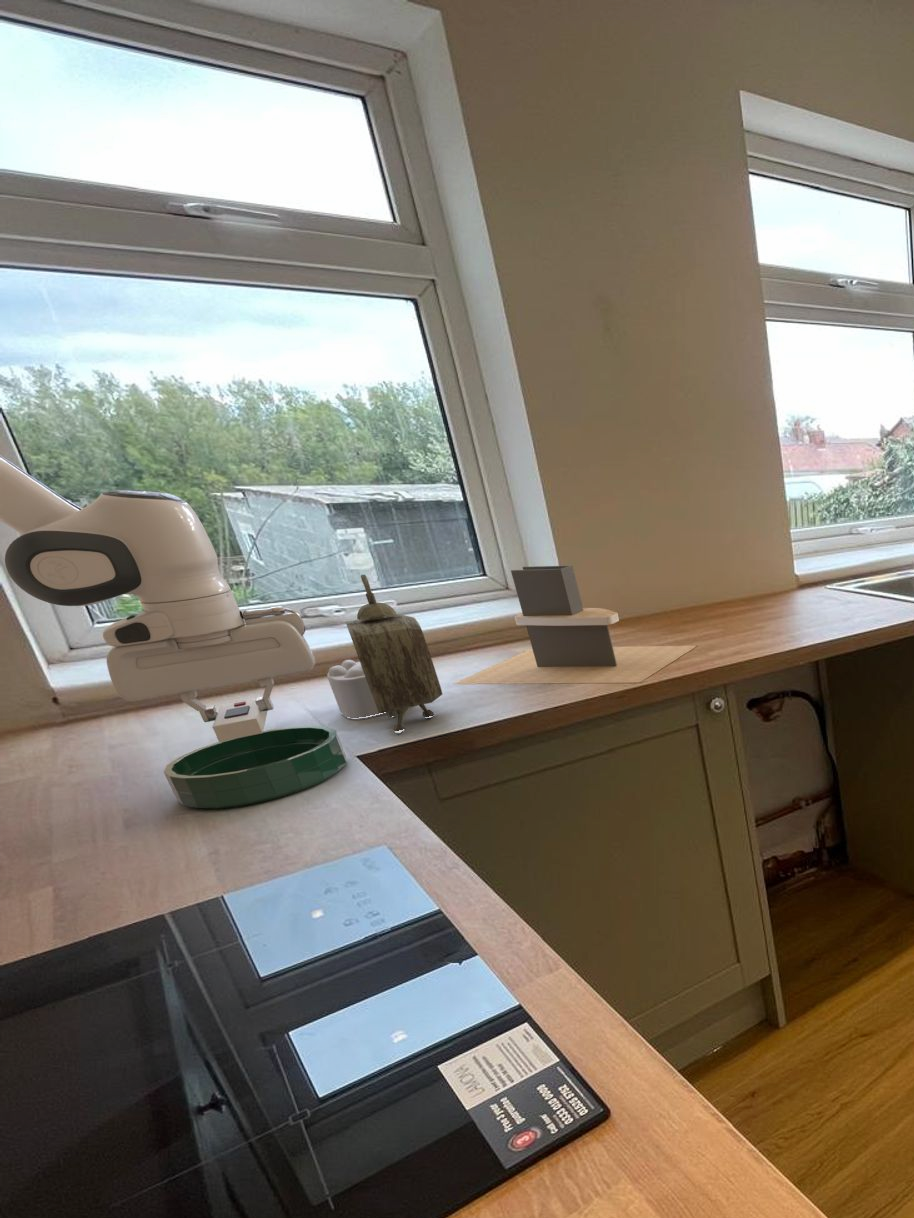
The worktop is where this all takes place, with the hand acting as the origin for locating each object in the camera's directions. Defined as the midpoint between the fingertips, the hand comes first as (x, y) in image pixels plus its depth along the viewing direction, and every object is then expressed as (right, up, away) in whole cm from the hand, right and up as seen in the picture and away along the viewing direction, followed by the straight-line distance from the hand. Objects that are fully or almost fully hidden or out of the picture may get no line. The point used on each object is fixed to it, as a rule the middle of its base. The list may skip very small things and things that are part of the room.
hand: (239, 715), depth 113 cm
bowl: (0, -9, +4) cm, 10 cm away
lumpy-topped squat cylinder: (-7, +3, +34) cm, 35 cm away
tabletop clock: (+6, 0, +26) cm, 26 cm away
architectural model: (+19, +13, +55) cm, 59 cm away
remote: (0, -1, +1) cm, 2 cm away
